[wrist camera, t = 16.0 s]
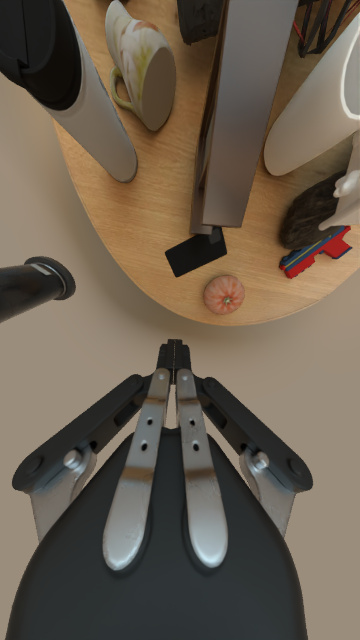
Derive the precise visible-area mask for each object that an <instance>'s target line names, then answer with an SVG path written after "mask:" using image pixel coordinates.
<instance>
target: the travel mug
mask: <svg viewBox="0 0 360 640" xmlns="http://www.w3.org/2000/svg"><path fill="white" fill-rule="evenodd" d="M0 72H1V73H3V74H4V75H5V76H6V77H7V78H8V79H9V80H10V81H12V82H14V83H15V84H17V85H19V86H21V87H23V88H25V89H26V90H27V91H28V92H29V94H30V95H31V96H32V97H33V98H34V99H35V100H36V101H37V102H38V103H39V104H40V105H41V106H42V107H43V108H44V109H45V110H46V111H47V112H48V113H49V114H50V115H51V116H52V117H53V118H54V119H55V120H56V121H57V122H58V123H59V124H60V125H61V126H62V127H63V128H64V129H65V130H66V131H67V132H68V133H69V134H70V135H71V136H72V137H73V138H74V139H75V140H76V141H77V142H78V143H79V144H80V145H81V146H82V147H83V148H84V149H85V150H86V151H87V152H88V153H89V154H90V155H91V156H92V157H93V158H94V159H95V160H96V161H97V162H98V163H99V164H100V165H101V166H102V167H103V168H104V169H105V170H106V171H107V172H109V173H110V174H111V175H112V176H113V177H114V178H115V179H116V180H117V181H119V182H122V183H127V182H130V181H131V180H132V179H133V178H134V177H135V174H136V171H137V156H136V152H135V149H134V147H133V145H132V143H131V141H130V139H129V137H128V135H127V133H126V131H125V129H124V126H123V124H122V122H121V120H120V118H119V116H118V114H117V112H116V110H115V108H114V105H113V103H112V101H111V99H110V97H109V95H108V93H107V91H106V89H105V87H104V85H103V82H102V80H101V78H100V76H99V74H98V72H97V70H96V68H95V66H94V64H93V62H92V59H91V57H90V55H89V53H88V51H87V49H86V47H85V45H84V43H83V41H82V39H81V36H80V34H79V32H78V30H77V28H76V26H75V24H74V22H73V20H72V18H71V16H70V13H69V11H68V9H67V7H66V5H65V3H64V1H63V0H0Z"/></svg>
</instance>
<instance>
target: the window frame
mask: <svg viewBox="0 0 360 640" xmlns="http://www.w3.org/2000/svg"><path fill="white" fill-rule="evenodd" d="M298 3H299V0H223V6H222V11H221V17H220V22H219V27H218V33H217V38H216V44H215V49H214V55H213V60H212V65H211V71H210V76H209V82H208V87H207V93H206V98H205V103H204V109H203V114H202V120H201V125H200V131H199V136H198V142H197V147H196V157H195V169H194V181H193V193H192V205H191V217H190V229H189V234H191V235H205V236H207V235H211V234H212V228H213V226H216V227H229V228H240V227H241V226H242V222H243V218H244V214H245V211H246V207H247V203H248V199H249V195H250V191H251V187H252V183H253V179H254V175H255V171H256V167H257V163H258V160H259V156H260V152H261V148H262V144H263V140H264V136H265V132H266V128H267V124H268V120H269V116H270V112H271V109H272V105H273V101H274V97H275V93H276V89H277V85H278V81H279V77H280V73H281V69H282V65H283V61H284V58H285V54H286V50H287V46H288V42H289V38H290V34H291V30H292V26H293V22H294V18H295V14H296V10H297V7H298Z"/></svg>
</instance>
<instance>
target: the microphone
mask: <svg viewBox="0 0 360 640" xmlns="http://www.w3.org/2000/svg"><path fill="white" fill-rule="evenodd" d="M316 1H319V0H299V3H298V7H301V6H304V5H307V4H308V5H307V9H306V13H305V18H304V22H303V26H302V30H301V33H300V31H299V29H298V27H297V25H296V23H295V20H294V22H293V25H294V28H295V30H296V32H297V34H298V33H299V34H300V36H299V34H298V36H299V38H300V39H299V43H298V54H299V56H300V58H305V56H306V54H321V53H322V52H323V50H324V49H325V48H326V47H327V45H328V44H329V43H330V41H331V40H332V39H333V38H334V36H335V35H336V32H337V30H338V28H339V26H341V25H342V24H343V23H342V24H341V22H342V20H343V18H344V16H345V15H346V14H347V13H348V12H349V11H350V10H351V9H352V8H353V7H354V6H355V5H356V4H357V3H358V2H359V1H360V0H358V1H357V2H356V3H355V4H354V5H353V6H352V7H351V8H350V9H349V10H348V8H349V5H350V3H351V1H352V0H346V1H345V3H344V5H343V7H342V10H341V12H340V14H339V16H338V18H337V20H336V22H335V25H334V26H333V27H332V28H333V29H332V28H331V29H332V31H331V33H330V35H329V37H328V38H327V39H326V40H325V41H324V37H325V35H326V34H327V33H328V32H329V31H330V30H331V29H330V30H329V31H328V32H327V33H326V34H325V31H326V26H327V20H328V14H329V10H330V7H331V4H332V1H333V0H323V1H322V4H321V6H320V9H319V11H318V14H317V17H316V19H315V22H314V24H313V27H312V30H311V32H310V35H309V38H308V40H307V43H306V44H305V46H304V43H305V36H306V31H307V26H308V22H309V18H310V14H311V9H312V5H313V2H316ZM359 4H360V2H359V3H358V4H357V6H358V5H359ZM177 5H178V15H179V24H180V32H181V35H182V38H183V41H184V43H186V44H187V45H190V46H191V44H192V43H195V42H199V41H200V40H202V39H206V38H209V37H212V36H215V35H216V34H217V33H218V27H219V22H220V17H221V11H222V6H223V0H177ZM357 6H356V7H357ZM298 7H297V8H298ZM356 7H355V8H356ZM355 8H354V9H353V10H352V12H353V11H354V10H355ZM347 10H348V11H347ZM352 12H351V13H352ZM351 13H350V14H351ZM350 14H349V15H350ZM349 15H348V17H349ZM348 17H347V18H348ZM347 18H346V19H347ZM346 19H345V20H346ZM345 20H344V21H345ZM320 24H321V26H320ZM340 24H341V25H340ZM319 26H320V31H319V36H318V41H317V47H316V48H315V49H313V50H311V51H309V52H307V51H308V49H309V47H310V45H311V43H312V41H313V39H314V37H315V34H316V32H317V30H318V28H319Z"/></svg>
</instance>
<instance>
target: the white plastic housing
mask: <svg viewBox="0 0 360 640" xmlns="http://www.w3.org/2000/svg"><path fill="white" fill-rule="evenodd" d="M335 187H336V190H335V192H334V193H333V196H334V197H340V198H339V202H338V205H337V209H336V213H335V214H334V215H333V216H331V217H330V218H328V219H327V220H326V221H324V222H323V223H321V224H320V225H319V230H325V229H326V228H328V227H330V226H338V225H355V224H360V129H359V130H357V132H356V133H355V134H354V136H353V151H352V154H351V158H350V162H349V165H348V169H347V172H346V176H344V177H342V178H340V179H339V180H338V181H337V182H336V183H335Z"/></svg>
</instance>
